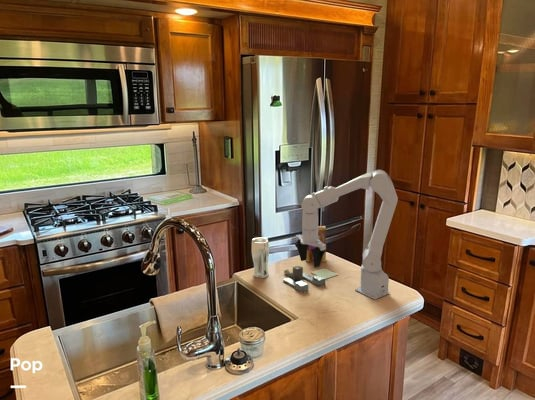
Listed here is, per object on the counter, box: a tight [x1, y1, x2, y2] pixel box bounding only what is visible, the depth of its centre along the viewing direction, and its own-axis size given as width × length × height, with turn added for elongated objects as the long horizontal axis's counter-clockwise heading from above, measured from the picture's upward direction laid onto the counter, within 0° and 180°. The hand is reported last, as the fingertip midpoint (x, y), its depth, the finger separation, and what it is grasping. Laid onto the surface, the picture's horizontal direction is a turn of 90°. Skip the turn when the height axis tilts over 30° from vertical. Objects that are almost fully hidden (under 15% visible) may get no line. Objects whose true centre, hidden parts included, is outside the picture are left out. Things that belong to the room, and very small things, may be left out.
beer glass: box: [251, 237, 270, 279], centre depth 161 cm, size 7×7×15 cm
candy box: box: [305, 225, 327, 263], centre depth 175 cm, size 9×4×15 cm, turn 85°
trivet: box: [310, 267, 339, 280], centre depth 162 cm, size 8×7×1 cm
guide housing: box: [282, 272, 326, 294], centre depth 154 cm, size 12×11×3 cm
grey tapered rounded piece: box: [283, 265, 304, 282], centre depth 159 cm, size 10×4×5 cm, turn 35°
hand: (310, 263), depth 149 cm, fingers open, 7 cm apart
